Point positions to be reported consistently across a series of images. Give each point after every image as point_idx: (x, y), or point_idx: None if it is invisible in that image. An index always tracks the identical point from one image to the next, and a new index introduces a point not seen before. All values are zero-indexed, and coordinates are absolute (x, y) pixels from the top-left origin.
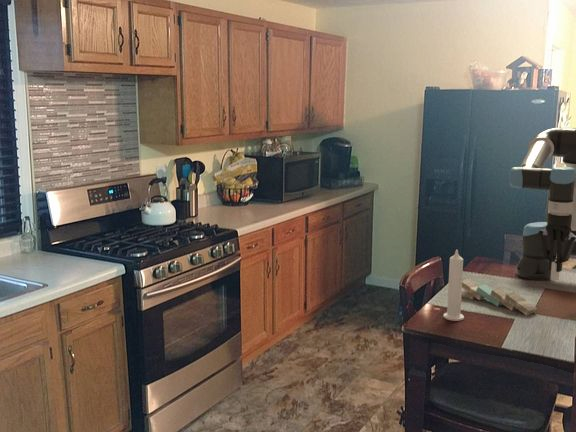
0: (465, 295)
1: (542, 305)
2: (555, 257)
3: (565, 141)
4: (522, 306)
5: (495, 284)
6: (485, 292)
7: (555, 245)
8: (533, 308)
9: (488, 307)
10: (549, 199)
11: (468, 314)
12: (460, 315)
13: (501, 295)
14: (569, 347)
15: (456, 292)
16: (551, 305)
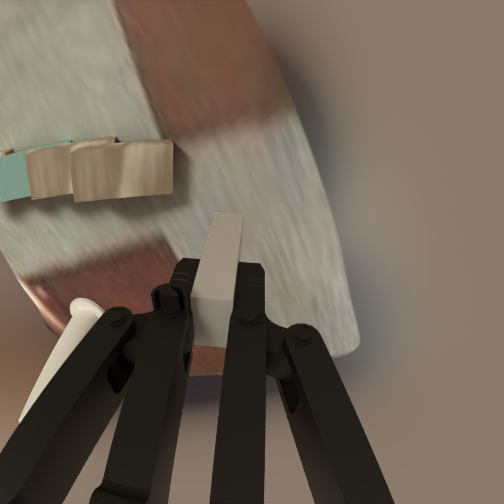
0: None
1: (152, 48)
2: (185, 333)
3: None
4: (144, 194)
5: None
6: (25, 196)
7: (164, 466)
8: (170, 162)
9: (70, 206)
10: None
11: (87, 282)
12: (93, 311)
13: (60, 188)
14: (352, 307)
15: None
16: (175, 23)
